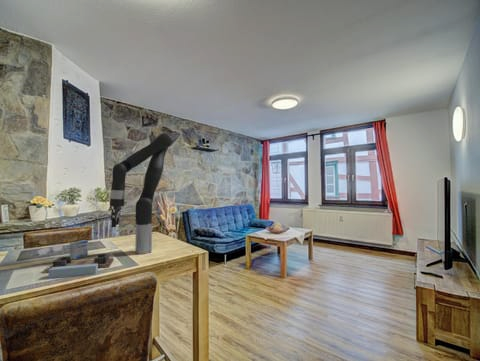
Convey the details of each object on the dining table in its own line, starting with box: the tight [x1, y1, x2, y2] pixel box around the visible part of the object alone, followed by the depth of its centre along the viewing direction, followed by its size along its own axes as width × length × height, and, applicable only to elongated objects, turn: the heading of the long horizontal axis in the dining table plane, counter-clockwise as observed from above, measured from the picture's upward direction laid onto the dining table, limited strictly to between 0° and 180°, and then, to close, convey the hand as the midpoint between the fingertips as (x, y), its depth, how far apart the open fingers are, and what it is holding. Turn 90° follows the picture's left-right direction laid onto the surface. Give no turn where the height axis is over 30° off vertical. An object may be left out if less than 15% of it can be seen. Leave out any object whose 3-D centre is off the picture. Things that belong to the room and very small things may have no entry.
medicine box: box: [68, 239, 89, 260], centre depth 130 cm, size 8×4×9 cm, turn 168°
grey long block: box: [48, 263, 99, 279], centre depth 105 cm, size 18×4×4 cm, turn 108°
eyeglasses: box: [36, 244, 69, 256], centre depth 136 cm, size 14×8×4 cm, turn 157°
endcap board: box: [45, 252, 114, 274], centre depth 115 cm, size 26×10×4 cm, turn 108°
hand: (115, 225), depth 133 cm, fingers open, 8 cm apart
